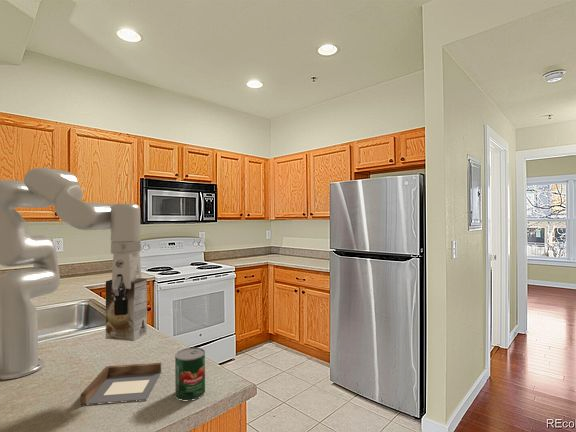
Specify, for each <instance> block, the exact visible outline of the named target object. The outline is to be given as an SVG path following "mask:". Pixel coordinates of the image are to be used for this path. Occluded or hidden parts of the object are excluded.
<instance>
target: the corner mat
mask: <svg viewBox="0 0 576 432" xmlns="http://www.w3.org/2000/svg"><path fill="white" fill-rule="evenodd" d="M160 373H161V374H162V371H161V372H160ZM160 373H150V374H135V375H121V376H109V377H108V378H107V379H106V381H105V382H104V383H103V384H102V385H101V387H100V388H99V389H98V390H97V391H96V392H95V394H94V395H93V396H92V397H91V398H90V400H89V401H88V402H87V403H86V405H85V406H88V405H87V404H97V405H99V404H98V403H108V402H121V401H135V402H140V401H139V400H146V399H147V400H148V398H149V397H150V395H151V393H152V391H153V389H154V388H155V385H156V384H157V381H158V379H159V378H160V375H161V374H160ZM150 392H151V393H150ZM149 394H150V395H149ZM136 400H137V401H136ZM147 400H146V401H147Z"/></svg>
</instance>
